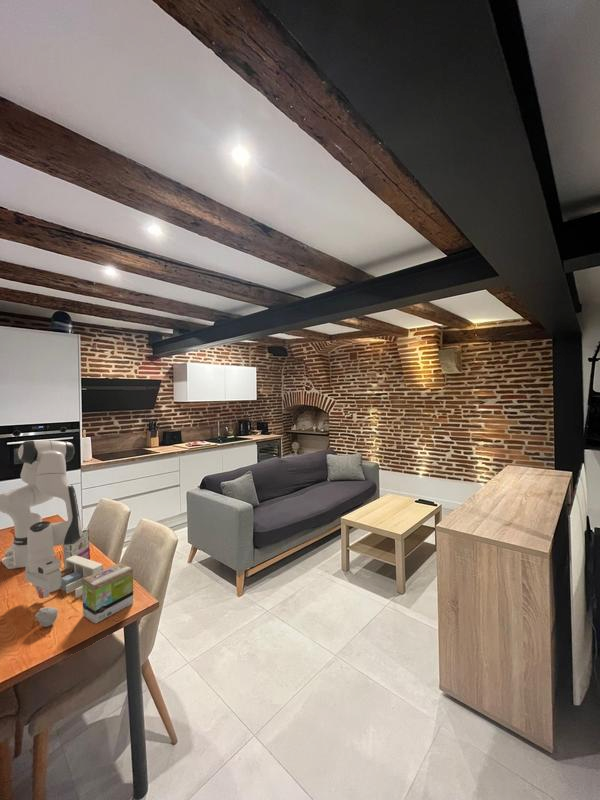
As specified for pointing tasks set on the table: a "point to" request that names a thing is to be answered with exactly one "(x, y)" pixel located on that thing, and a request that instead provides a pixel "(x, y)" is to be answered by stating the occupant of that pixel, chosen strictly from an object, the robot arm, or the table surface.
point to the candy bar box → (78, 547)
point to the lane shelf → (84, 568)
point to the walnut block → (65, 572)
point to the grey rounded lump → (46, 616)
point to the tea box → (107, 592)
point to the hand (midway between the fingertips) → (43, 595)
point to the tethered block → (65, 581)
